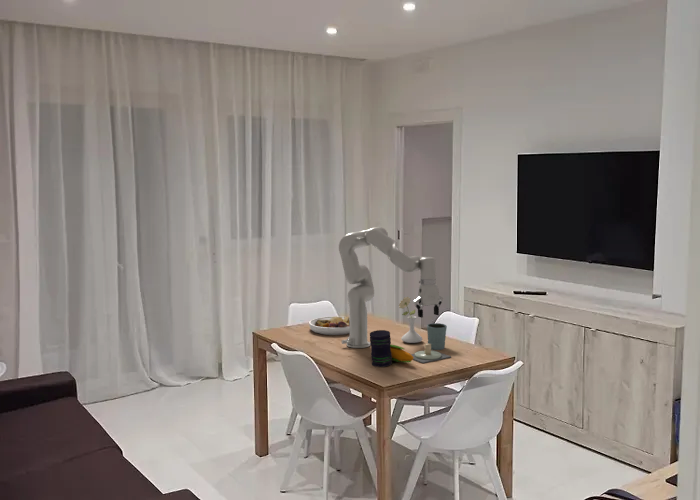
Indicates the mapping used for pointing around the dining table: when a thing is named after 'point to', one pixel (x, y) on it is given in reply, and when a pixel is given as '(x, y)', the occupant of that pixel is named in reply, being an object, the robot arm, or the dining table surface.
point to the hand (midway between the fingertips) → (428, 315)
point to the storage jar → (380, 348)
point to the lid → (427, 353)
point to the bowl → (330, 325)
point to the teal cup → (436, 335)
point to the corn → (400, 354)
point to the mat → (430, 360)
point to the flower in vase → (411, 334)
